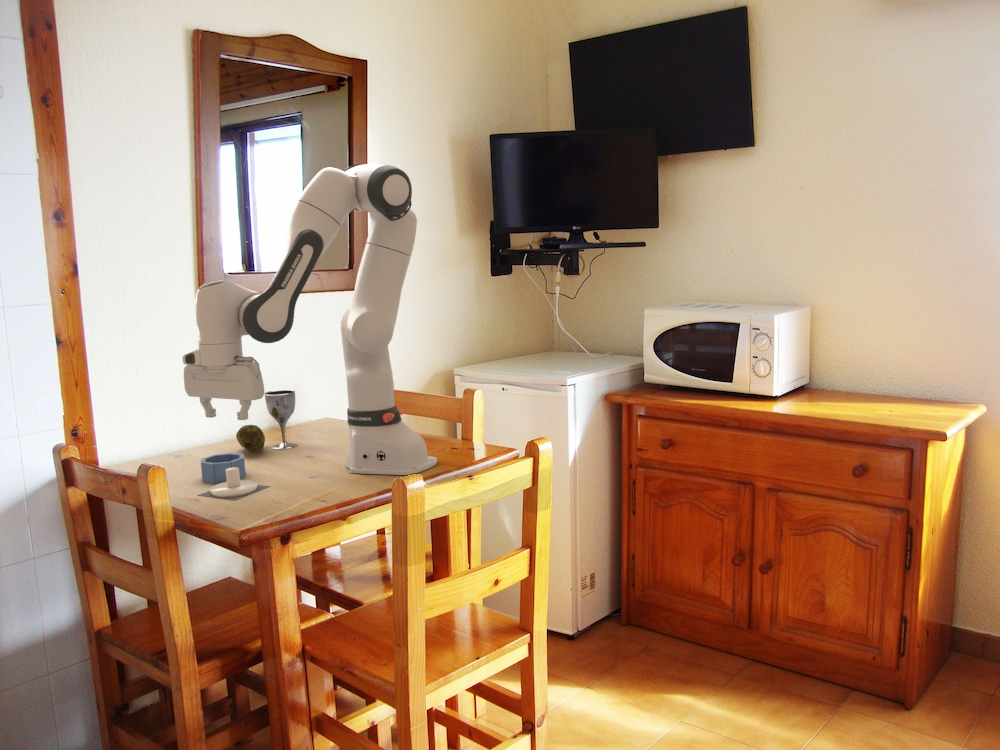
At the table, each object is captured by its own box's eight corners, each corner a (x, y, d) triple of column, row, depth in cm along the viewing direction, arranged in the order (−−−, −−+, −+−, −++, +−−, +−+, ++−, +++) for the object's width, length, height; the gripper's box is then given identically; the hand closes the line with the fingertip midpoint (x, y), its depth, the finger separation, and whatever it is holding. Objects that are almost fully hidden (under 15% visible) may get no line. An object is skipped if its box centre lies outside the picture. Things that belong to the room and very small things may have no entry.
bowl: (254, 475, 198) (252, 455, 198) (224, 486, 190) (222, 465, 189) (224, 472, 203) (222, 452, 202) (194, 482, 194) (191, 461, 194)
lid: (267, 486, 187) (265, 465, 186) (234, 499, 178) (232, 476, 177) (233, 482, 191) (231, 461, 190) (200, 495, 182) (198, 472, 181)
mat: (270, 488, 187) (270, 486, 187) (234, 502, 177) (234, 500, 177) (234, 483, 192) (233, 481, 192) (197, 497, 182) (197, 495, 182)
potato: (273, 445, 229) (271, 417, 228) (262, 457, 216) (259, 427, 215) (243, 447, 229) (240, 418, 228) (230, 458, 216) (227, 428, 215)
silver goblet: (263, 448, 226) (258, 394, 223) (281, 442, 233) (276, 389, 231) (287, 450, 223) (283, 395, 220) (305, 443, 230) (300, 389, 228)
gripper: (268, 354, 178) (273, 418, 180) (198, 352, 187) (204, 413, 189) (247, 358, 172) (252, 424, 174) (176, 356, 182) (182, 418, 184)
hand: (226, 418), depth 182 cm, fingers open, 8 cm apart
